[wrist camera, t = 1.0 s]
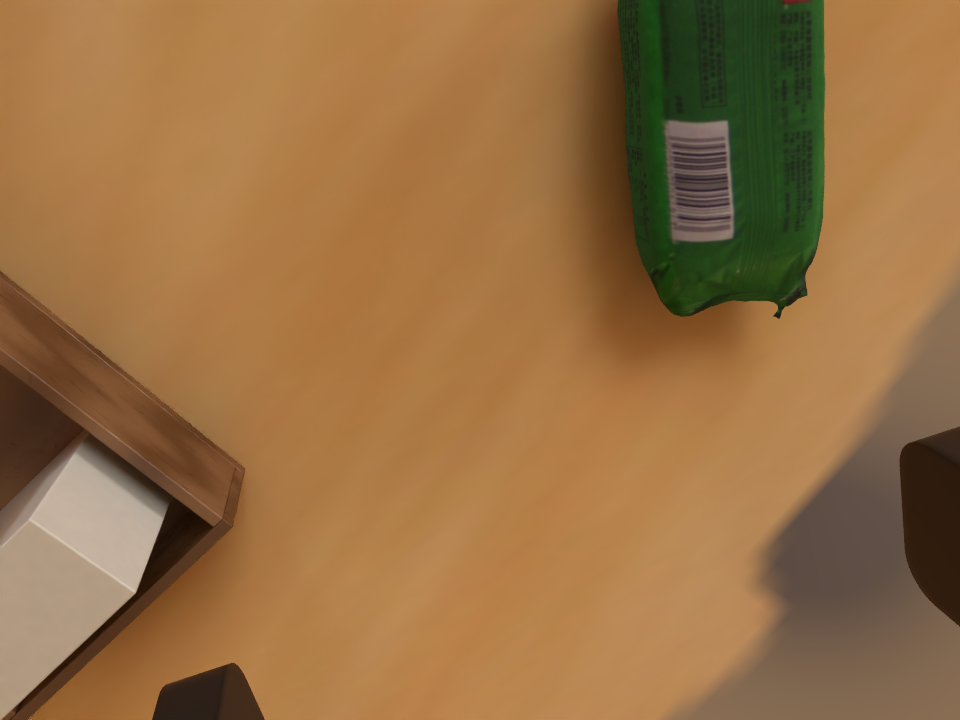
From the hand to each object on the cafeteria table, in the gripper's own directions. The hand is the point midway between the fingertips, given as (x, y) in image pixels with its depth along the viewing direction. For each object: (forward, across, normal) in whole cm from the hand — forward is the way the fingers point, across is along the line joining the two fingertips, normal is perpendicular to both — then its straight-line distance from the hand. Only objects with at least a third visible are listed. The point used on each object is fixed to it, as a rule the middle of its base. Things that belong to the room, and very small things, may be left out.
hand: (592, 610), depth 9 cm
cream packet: (+25, +16, +7) cm, 31 cm away
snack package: (+26, -13, -1) cm, 29 cm away
